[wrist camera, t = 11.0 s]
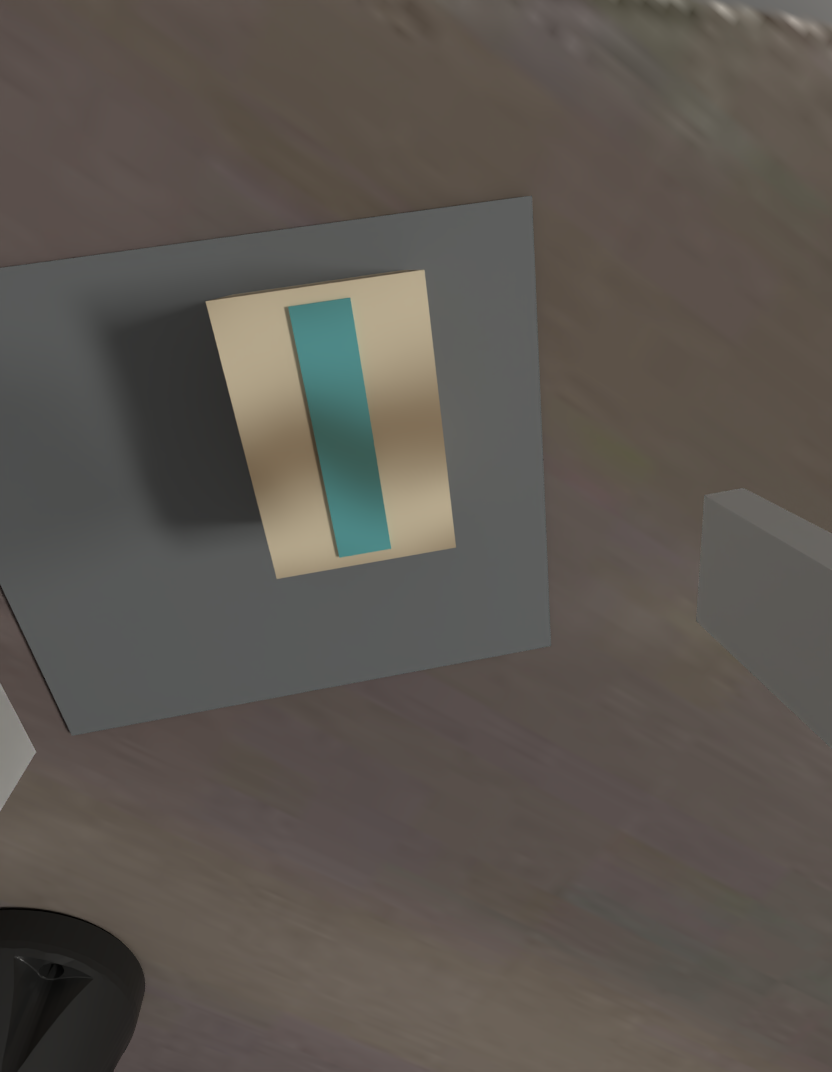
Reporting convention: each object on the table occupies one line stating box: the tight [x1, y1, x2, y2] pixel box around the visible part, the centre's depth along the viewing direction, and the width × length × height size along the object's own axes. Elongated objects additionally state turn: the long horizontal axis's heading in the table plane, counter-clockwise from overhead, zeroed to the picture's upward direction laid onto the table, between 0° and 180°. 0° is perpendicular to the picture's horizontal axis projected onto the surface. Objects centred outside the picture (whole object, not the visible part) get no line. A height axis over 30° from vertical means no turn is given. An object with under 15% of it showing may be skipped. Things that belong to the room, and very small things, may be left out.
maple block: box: [206, 270, 456, 579], centre depth 24 cm, size 10×7×6 cm
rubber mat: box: [0, 196, 551, 736], centre depth 28 cm, size 26×22×1 cm
